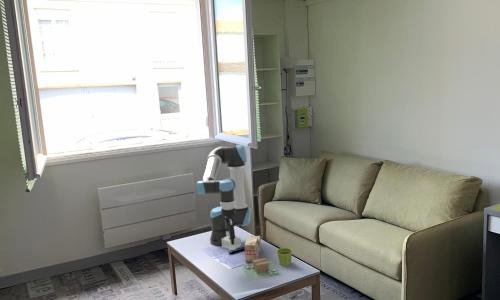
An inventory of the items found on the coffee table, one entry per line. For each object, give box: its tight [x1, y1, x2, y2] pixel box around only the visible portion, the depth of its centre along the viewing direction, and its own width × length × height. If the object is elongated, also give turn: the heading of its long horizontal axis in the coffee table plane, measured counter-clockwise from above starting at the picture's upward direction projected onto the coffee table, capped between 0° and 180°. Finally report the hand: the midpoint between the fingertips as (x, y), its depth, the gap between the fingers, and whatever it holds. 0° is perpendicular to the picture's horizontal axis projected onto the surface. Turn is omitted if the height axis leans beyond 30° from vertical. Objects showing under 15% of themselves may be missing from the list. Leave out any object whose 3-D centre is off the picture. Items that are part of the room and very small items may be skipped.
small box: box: [221, 235, 242, 251], centre depth 235 cm, size 8×8×5 cm
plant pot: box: [275, 247, 294, 267], centre depth 240 cm, size 9×9×9 cm
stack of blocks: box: [244, 235, 262, 263], centre depth 255 cm, size 21×6×12 cm, turn 170°
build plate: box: [241, 259, 283, 281], centre depth 235 cm, size 20×18×2 cm
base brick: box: [252, 257, 269, 273], centre depth 234 cm, size 7×7×5 cm
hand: (231, 245), depth 235 cm, fingers closed on small box, 10 cm apart
